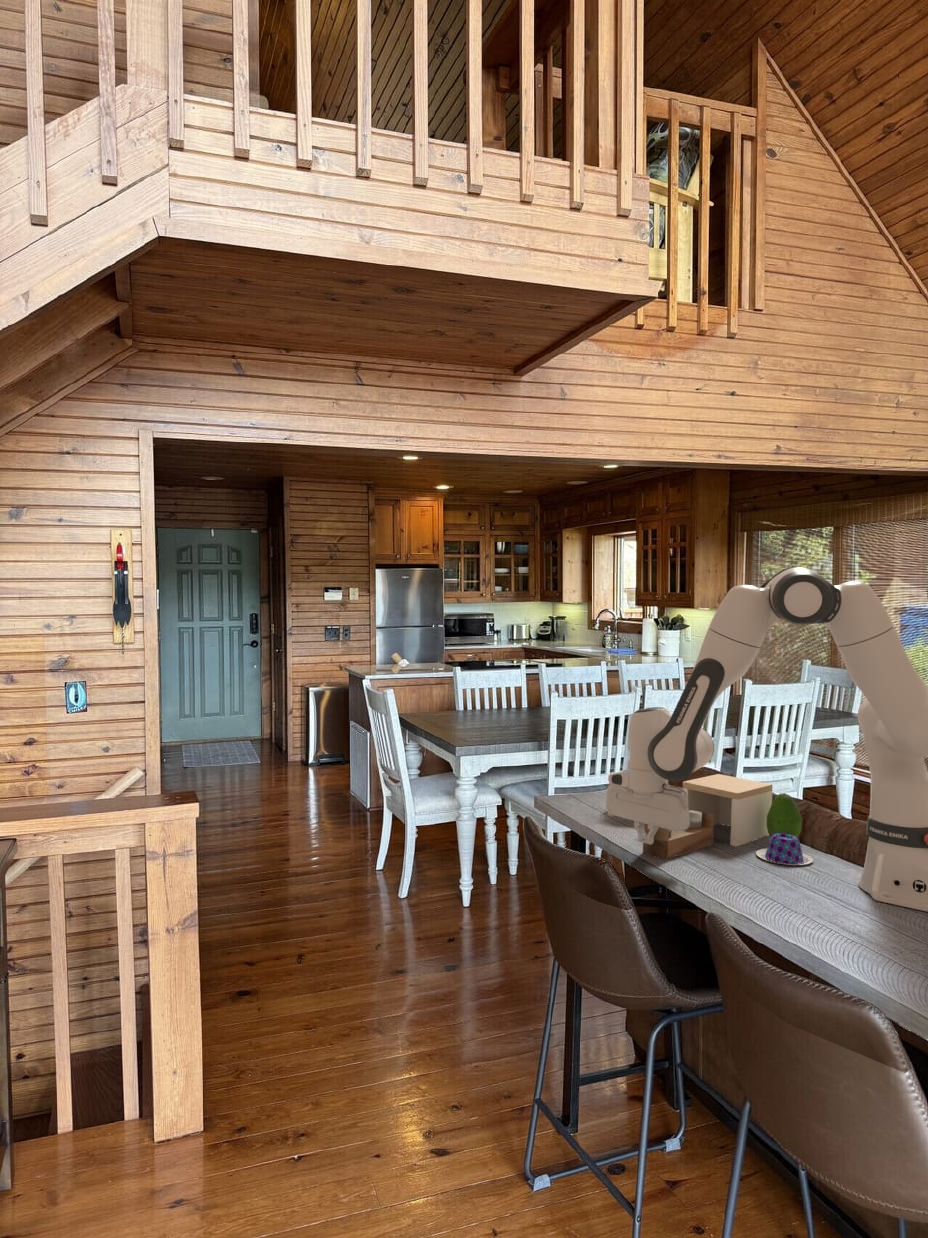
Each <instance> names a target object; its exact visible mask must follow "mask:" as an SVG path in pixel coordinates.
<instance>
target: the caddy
mask: <svg viewBox="0 0 928 1238" xmlns="http://www.w3.org/2000/svg"><path fill="white" fill-rule="evenodd" d="M689 817H690V826H689V827H688V829H687V830H684V831H681V832H676V831H672V830H668V829H665V828H661V827H659V829H658V831H657V832H656V834H655V835H654V842H653V844H650V845H649V844H646V843H643V842H642V853H643V854H646V855H648V856H652V857H655V856H656V858H660V859H663V860H668V859H671V858H674V857H676V856H675V855H678V856H680V855H684V854H687V853H690V852H692V851H696V850H699V849H700V850H701V849H703V848H706V847H709V846H712V844H713V845H714V830H715V829H714V827H715V825H714V815H712V814H708V813H704V812H700V811H695V810H690V811H689ZM643 827H644V830H645V833H647V834H648V832H649V831H650V829H648V824H645V825H643ZM673 856H674V857H673ZM670 857H671V858H670ZM667 858H668V859H667Z"/></svg>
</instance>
